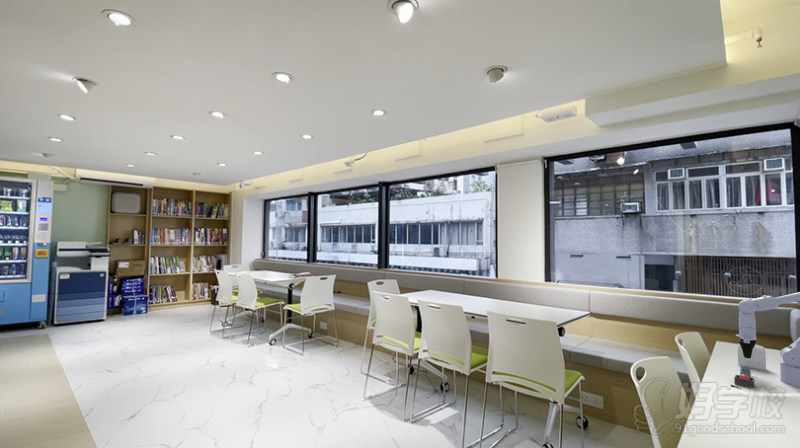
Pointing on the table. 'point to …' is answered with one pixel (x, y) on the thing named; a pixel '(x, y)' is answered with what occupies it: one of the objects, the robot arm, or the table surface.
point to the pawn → (745, 370)
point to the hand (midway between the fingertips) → (747, 356)
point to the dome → (744, 377)
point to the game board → (744, 381)
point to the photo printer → (753, 358)
